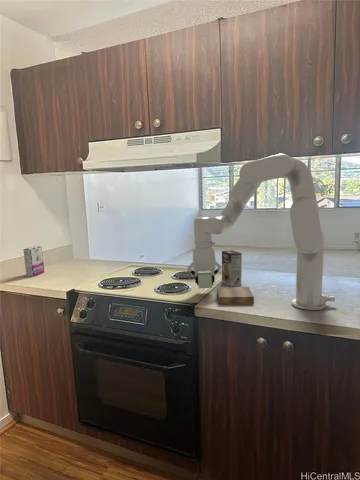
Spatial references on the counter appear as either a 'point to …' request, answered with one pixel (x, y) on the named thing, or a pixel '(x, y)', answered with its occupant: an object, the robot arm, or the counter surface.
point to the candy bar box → (33, 261)
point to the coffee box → (231, 268)
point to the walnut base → (235, 295)
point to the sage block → (204, 279)
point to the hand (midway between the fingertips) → (205, 284)
